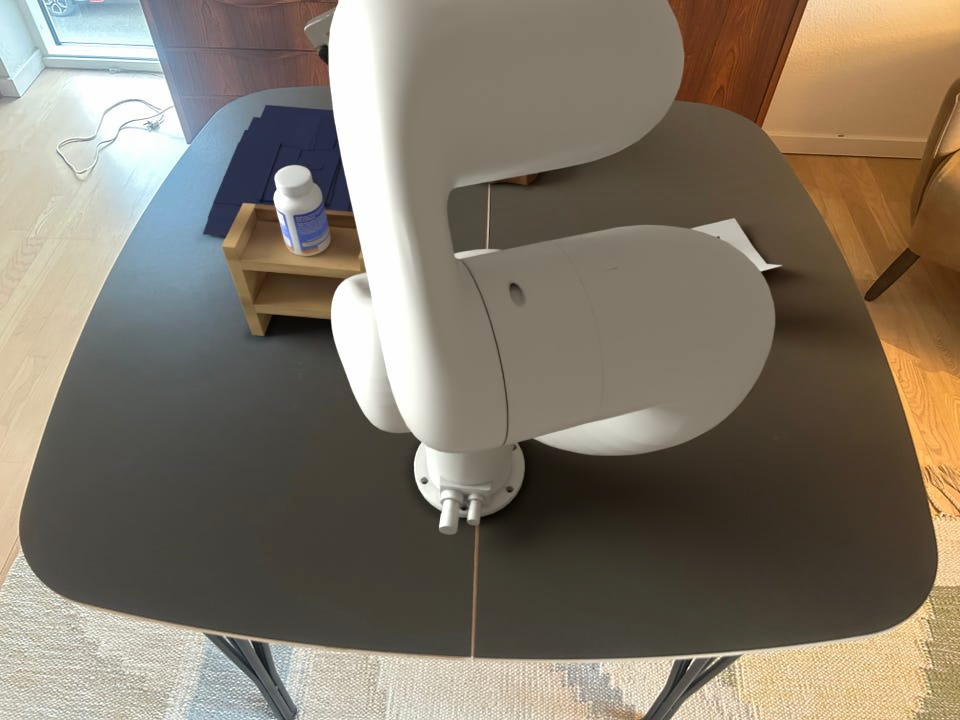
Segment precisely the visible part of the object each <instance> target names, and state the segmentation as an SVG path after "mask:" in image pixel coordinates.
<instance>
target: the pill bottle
mask: <svg viewBox="0 0 960 720" xmlns="http://www.w3.org/2000/svg"><path fill="white" fill-rule="evenodd" d="M275 183H276V188H277V190H276V192H275V194H274V203H275V207H276V211H277V214H278V218H279V222H280V226H281V229H282V233H283V237H284V241H285V244H286V246H287V248H288V249H289V250H290V251H291V252H292V253H294V254H296V255H300V256H312V255H316V254H318V253H320V252H322V251H324V250H325V249H326V248H327V247H328V246H329V244H330V241H331V236H330V231H329V226H328V221H327V216H326V212H325V207H324V202H323V197H322V192H321V190H320V188H319V187H318V186H317V185H316V184H315V183H313V180H312V176H311V172H310V171H309V170H308V169H307V168H306V167H303V166H299V165H291V166H287V167H284V168H282V169H280V170H279V171H278V172H277V173H276V175H275Z"/></svg>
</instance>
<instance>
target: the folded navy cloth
mask: <svg viewBox="0 0 960 720" xmlns="http://www.w3.org/2000/svg"><path fill="white" fill-rule="evenodd" d="M291 165H299V166H303V167H306V168H307V169H308V170H309V171H310V172H311V176H312V180H313V183H315V184H316V185H317V186H318V187H319V188H320V190H321V192H322V197H323V202H324V207H325V210H335V211H347V212H353V208H352V203H351V199H350V194H349V190H348V185H347V181H346V176H345V172H344V167H343V163H342V157H341V152H340V146H339V141H338V135H337V130H336V124H335V119H334V112H333V109H321V108H309V107H299V106H297V107H296V106H287V105H273V104H265V106H264V108H263V111H262V113H261V115H260V117H259V116H253V117H252V118H251V121H250V124H249V125H248V128H247V129H244V131H243V133H242V136H241V138H240V140H239V141H238V143H237V144H236V147H235V150H234V152H233V154H232V157H231V159H230V161H229V164H228V166H227V169H226V171H225V173H224V176H223V178H222V180H221V183H220V185H219V188H218V190H217V193H216V195H215V197H214V200H213V203H212V204H211V205H212V206H211V208H210V210H209V213H208V216H207V221H206V224H205V227H204V229H203V232H202V235H204V236H205V235H206V236H223V237H227V235H228V233H229V231H230V229H231V227H232V225H233V223H234V221H235V219H236V217H237V215H238V213H239V211H240V209H241V207H242V205H243V203H248V204H261V205H273V206H275V203H274V194H275V192H276V190H277V188H276V183H275V175H276V173H277V172H278V171H279V170H280V169H282V168H284V167H287V166H291Z"/></svg>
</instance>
